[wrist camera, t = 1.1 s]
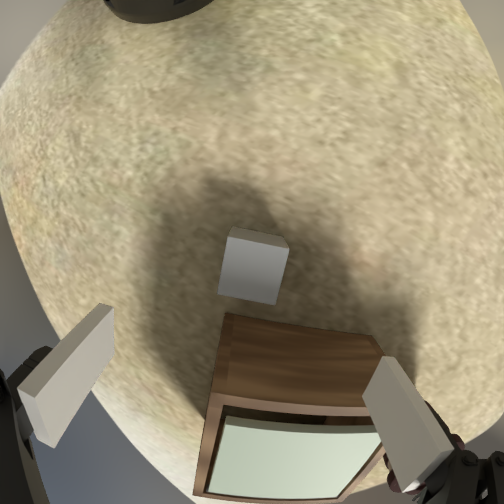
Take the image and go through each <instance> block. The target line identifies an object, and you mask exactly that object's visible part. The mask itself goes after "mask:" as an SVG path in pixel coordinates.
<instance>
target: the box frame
mask: <svg viewBox="0 0 504 504" xmlns="http://www.w3.org/2000/svg"><path fill="white" fill-rule="evenodd" d="M382 356H386V355H385V354H384V352H383V351H382V349H381V348H380V346H379V345H378V344H377V342H376V341H375V339H374V338H373V336H369V335H361V334H353V333H345V332H337V331H330V330H323V329H316V328H309V327H303V326H296V325H290V324H284V323H278V322H272V321H266V320H261V319H255V318H250V317H244V316H239V315H234V314H229V313H225V316H224V321H223V326H222V331H221V337H220V342H219V347H218V352H217V357H216V363H215V368H214V373H213V379H212V384H211V389H210V395H209V400H208V406H207V411H206V417H205V422H204V428H203V434H202V440H201V446H200V452H199V458H198V464H197V470H196V476H195V482H194V489H193V495H194V496H200V497H206V498H212V499H219V500H227V501H236V502H246V503H260V504H321V503H335V502H342V501H343V500H344V499H345V498H346V497H347V496H348V495H349V494H350V493H351V492H352V491H353V490H354V489H355V488H356V487H357V486H358V485H359V483H360V482H361V481H362V480H363V479H364V478H365V477H366V476H367V474H368V473H369V472H370V471H371V470H372V469H373V467H374V466H375V465H376V464H377V463H378V461H379V460H380V459H381V458H382V456H383V455H384V454H385V453H386V451H385V449H384V447H383V444H382V442H380V443H379V445H378V446H377V448H376V449H375V450H374V452H373V453H372V454H371V456H370V457H369V458H368V460H367V461H366V462H365V463H364V465H363V466H362V467H361V468H360V470H359V471H358V472H357V473H356V475H355V476H354V477H353V478H352V479H351V481H350V482H349V483H348V484H347V485H346V486H345V488H344V489H343V490H342V491H341V492H340V493H339V495H338V497H333V498H316V499H272V498H255V497H243V496H233V495H225V494H217V493H211V492H206V487H207V484H209V482H210V479H211V475H212V471H213V467H214V463H215V459H216V455H217V451H218V447H219V443H220V439H221V435H222V431H223V427H224V423H225V419H222V418H220V417H221V413H222V408H223V404H224V405H230V406H236V407H243V408H250V409H257V410H265V411H274V412H283V413H294V414H308V415H327V418H326V420H325V421H324V423H323V425H333V426H360V425H374V423H373V421H372V418H371V416H370V414H369V412H368V409H367V407H366V405H365V402H364V400H363V398H362V395H363V393H364V392H365V390H366V388H367V386H368V384H369V382H370V380H371V378H372V376H373V374H374V372H375V370H376V368H377V366H378V364H379V362H380V360H381V358H382Z"/></svg>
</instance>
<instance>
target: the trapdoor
mask: <svg viewBox="0 0 504 504" xmlns="http://www.w3.org/2000/svg"><path fill="white" fill-rule="evenodd" d="M380 442H381V439H380V437H379V435H378V432H377V430H376V428H375V425H360V426H333V425H307V424H292V423H280V422H270V421H261V420H253V419H245V418H238V417H232V416H226V419H225V423H224V427H223V431H222V435H221V439H220V443H219V447H218V451H217V455H216V459H215V463H214V467H213V471H212V475H211V479H210V482H209V484H207V487H206V492H211V493H217V494H225V495H233V496H243V497H255V498H272V499H316V498H333V497H338V495H339V493H340V492H341V491H342V490H343V489H344V488H345V486H346V485H347V484H348V483H349V482H350V481H351V479H352V478H353V477H354V476H355V475H356V473H357V472H358V471H359V470H360V468H361V467H362V466H363V465H364V463H365V462H366V461H367V460H368V458H369V457H370V456H371V454H372V453H373V452H374V450H375V449H376V448H377V446H378V445H379V443H380Z"/></svg>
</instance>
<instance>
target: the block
mask: <svg viewBox="0 0 504 504" xmlns="http://www.w3.org/2000/svg"><path fill="white" fill-rule="evenodd" d="M288 253H289V247H288V245H287V243H286V241H285V239H284V237H282V236H277V235H273V234H268V233H263V232H258V231H253V230H248V229H244V228H239V227H234V226H232V227H231V229H230V232H229V234H228V238H227V243H226V248H225V253H224V258H223V264H222V269H221V274H220V280H219V285H218V291H217V294H218V295H223V296H228V297H233V298H238V299H244V300H249V301H254V302H259V303H265V304H270V305H275V304H276V301H277V297H278V293H279V289H280V285H281V281H282V277H283V273H284V269H285V265H286V261H287V257H288Z"/></svg>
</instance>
